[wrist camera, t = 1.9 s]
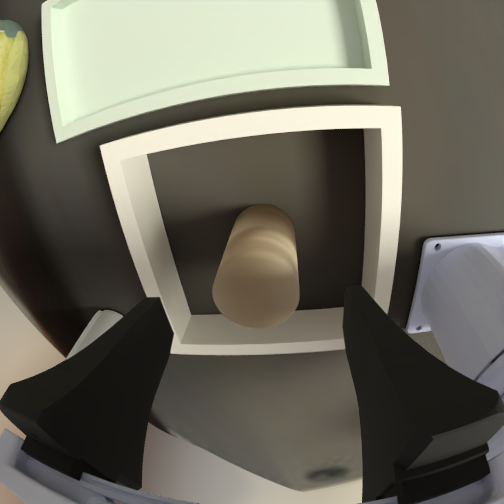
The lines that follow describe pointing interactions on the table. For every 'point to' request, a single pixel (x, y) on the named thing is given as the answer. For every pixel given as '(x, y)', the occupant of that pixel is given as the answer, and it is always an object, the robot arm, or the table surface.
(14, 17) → the table surface
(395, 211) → the square open frame
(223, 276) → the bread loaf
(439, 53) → the table surface
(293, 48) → the tray
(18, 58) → the cell model
